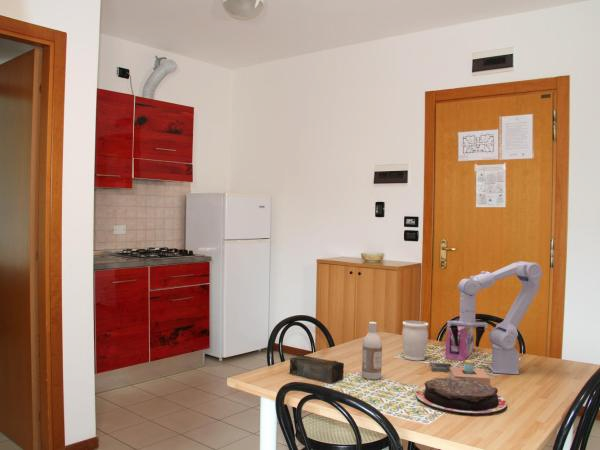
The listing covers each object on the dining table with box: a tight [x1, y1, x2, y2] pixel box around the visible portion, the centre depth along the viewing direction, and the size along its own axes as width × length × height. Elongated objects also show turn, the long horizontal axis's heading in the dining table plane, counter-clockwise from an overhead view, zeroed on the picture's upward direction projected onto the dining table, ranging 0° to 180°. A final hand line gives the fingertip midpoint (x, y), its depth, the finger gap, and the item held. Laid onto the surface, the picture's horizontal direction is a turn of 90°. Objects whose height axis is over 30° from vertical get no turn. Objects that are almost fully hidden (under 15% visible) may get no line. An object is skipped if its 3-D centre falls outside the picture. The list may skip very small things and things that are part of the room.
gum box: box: [444, 318, 475, 362], centre depth 226 cm, size 24×8×14 cm, turn 152°
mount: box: [429, 362, 453, 373], centre depth 202 cm, size 8×8×1 cm
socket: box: [448, 366, 491, 386], centre depth 188 cm, size 12×12×3 cm
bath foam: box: [361, 321, 383, 381], centre depth 189 cm, size 7×7×20 cm
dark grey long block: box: [289, 354, 345, 384], centre depth 189 cm, size 8×19×7 cm, turn 54°
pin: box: [464, 359, 475, 374], centre depth 189 cm, size 3×3×7 cm
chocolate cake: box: [415, 376, 508, 417], centre depth 167 cm, size 28×28×7 cm
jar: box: [401, 320, 429, 362], centre depth 217 cm, size 11×10×15 cm
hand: (466, 345), depth 199 cm, fingers open, 7 cm apart
